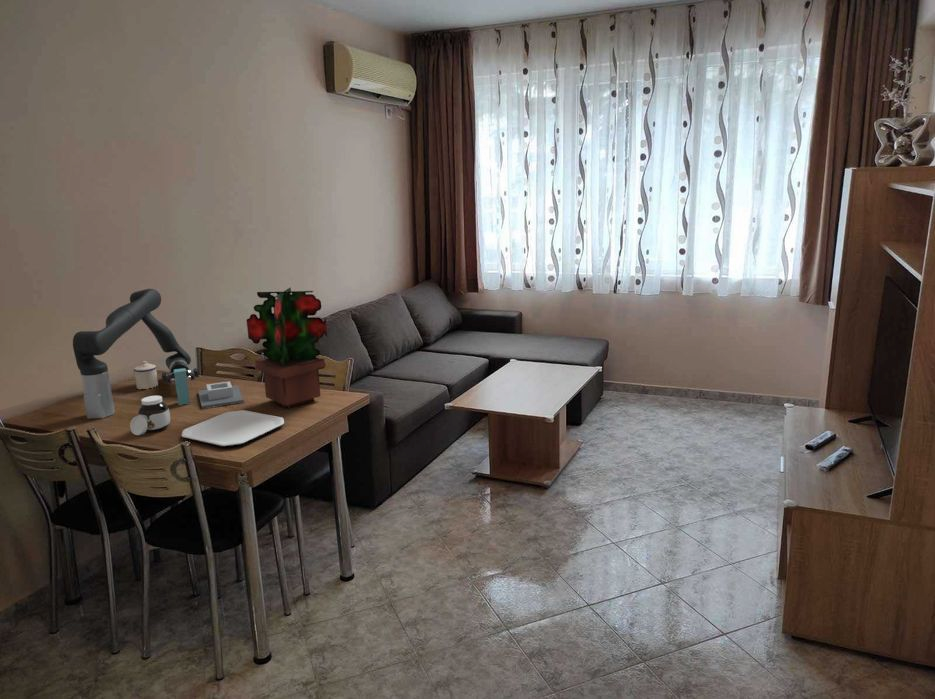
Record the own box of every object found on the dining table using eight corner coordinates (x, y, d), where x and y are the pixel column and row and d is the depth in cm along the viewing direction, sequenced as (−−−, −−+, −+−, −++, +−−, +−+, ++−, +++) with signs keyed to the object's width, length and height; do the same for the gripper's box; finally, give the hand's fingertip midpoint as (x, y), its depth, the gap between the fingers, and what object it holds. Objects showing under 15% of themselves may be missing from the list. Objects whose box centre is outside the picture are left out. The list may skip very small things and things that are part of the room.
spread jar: (174, 424, 248) (169, 394, 245) (162, 435, 237) (158, 404, 235) (140, 425, 248) (136, 395, 245) (127, 437, 237) (122, 406, 234)
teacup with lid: (163, 385, 296) (159, 359, 293) (145, 391, 289) (141, 365, 286) (145, 382, 302) (141, 357, 299) (127, 387, 294) (123, 362, 291)
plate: (173, 439, 235) (172, 433, 234) (235, 413, 259) (235, 408, 259) (233, 453, 221) (232, 447, 221) (293, 424, 246) (292, 419, 245)
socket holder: (243, 402, 271) (242, 390, 269) (201, 408, 264) (200, 396, 263) (237, 387, 290) (236, 376, 289) (198, 393, 284) (196, 381, 282)
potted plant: (332, 400, 271) (323, 290, 259) (282, 414, 256) (271, 298, 244) (303, 389, 286) (294, 285, 275) (255, 401, 271) (243, 292, 260)
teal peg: (190, 403, 271) (185, 370, 267) (178, 405, 269) (174, 372, 265) (189, 400, 274) (185, 368, 271) (178, 402, 273) (173, 369, 269)
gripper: (160, 363, 287) (160, 373, 273) (195, 359, 293) (198, 368, 278) (162, 380, 289) (163, 390, 275) (198, 375, 295) (200, 385, 280)
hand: (180, 379), depth 277 cm, fingers open, 8 cm apart
